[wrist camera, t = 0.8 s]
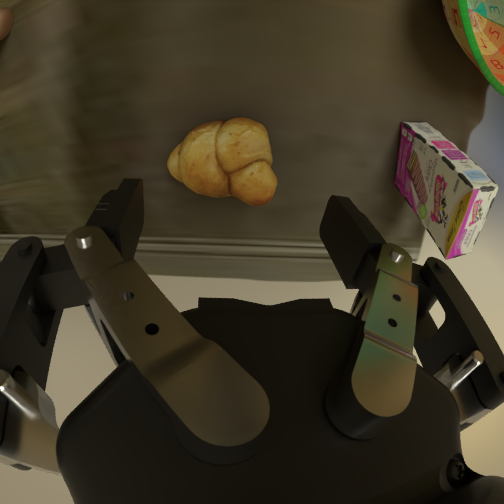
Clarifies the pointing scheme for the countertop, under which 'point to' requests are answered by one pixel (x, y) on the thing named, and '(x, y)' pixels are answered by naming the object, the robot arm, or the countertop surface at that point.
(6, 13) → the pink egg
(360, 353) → the robot arm
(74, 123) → the countertop surface
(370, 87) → the countertop surface
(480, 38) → the bowl
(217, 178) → the bread roll
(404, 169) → the candy bar box
